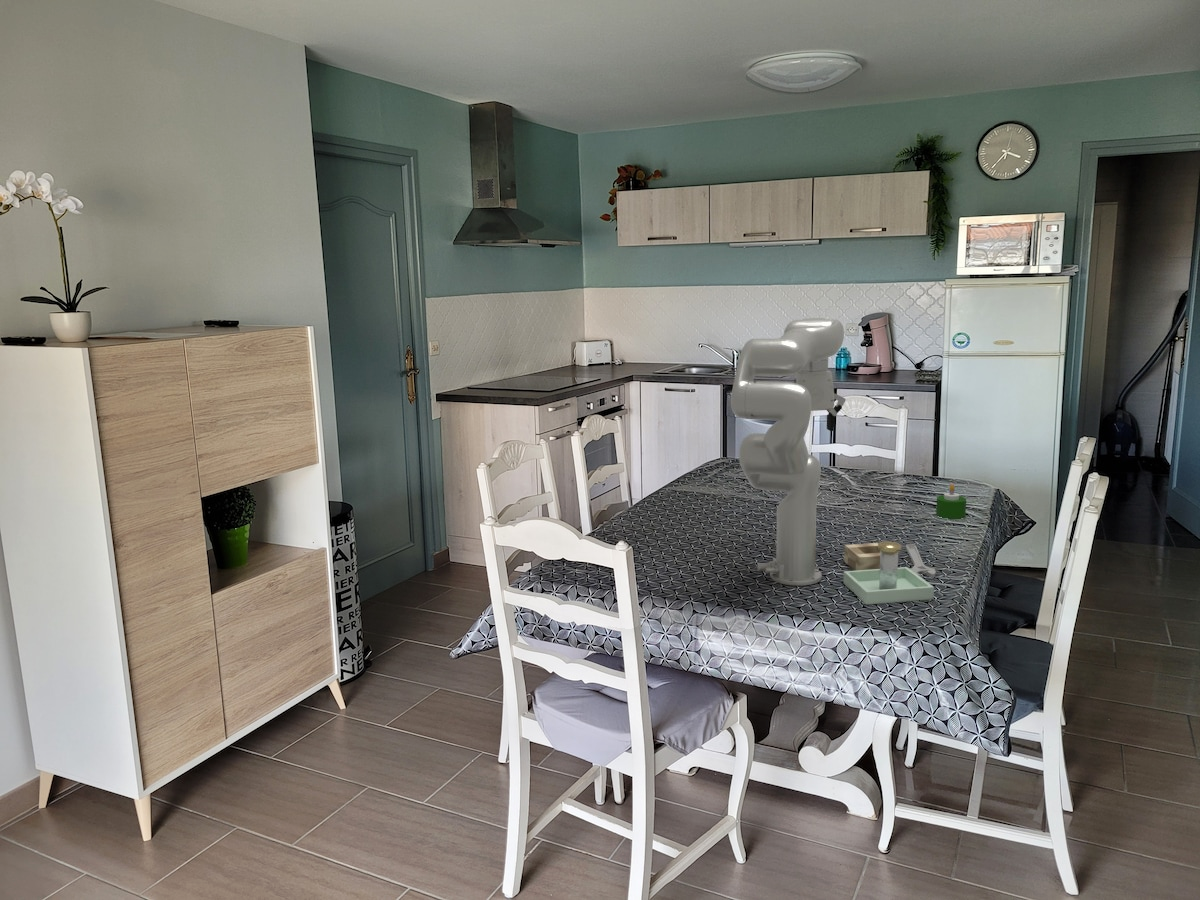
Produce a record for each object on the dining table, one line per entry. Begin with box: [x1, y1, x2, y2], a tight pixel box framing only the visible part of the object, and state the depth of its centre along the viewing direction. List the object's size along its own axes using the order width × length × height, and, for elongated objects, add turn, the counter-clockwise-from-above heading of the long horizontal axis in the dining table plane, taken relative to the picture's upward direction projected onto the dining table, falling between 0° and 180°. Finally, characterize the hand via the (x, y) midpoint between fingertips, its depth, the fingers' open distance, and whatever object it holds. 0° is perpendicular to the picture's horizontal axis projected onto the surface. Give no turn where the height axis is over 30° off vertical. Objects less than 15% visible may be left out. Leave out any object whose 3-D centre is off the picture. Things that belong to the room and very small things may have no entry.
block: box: [843, 542, 880, 571], centre depth 224 cm, size 10×10×4 cm
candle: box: [935, 483, 967, 520], centre depth 265 cm, size 8×8×10 cm
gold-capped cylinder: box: [877, 540, 902, 590], centre depth 207 cm, size 5×5×11 cm
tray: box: [842, 566, 935, 605], centre depth 208 cm, size 16×14×3 cm
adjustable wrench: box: [905, 543, 937, 579], centre depth 226 cm, size 25×6×2 cm, turn 164°
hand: (812, 431), depth 231 cm, fingers open, 9 cm apart
